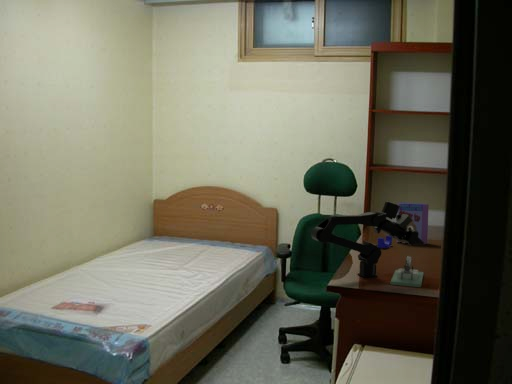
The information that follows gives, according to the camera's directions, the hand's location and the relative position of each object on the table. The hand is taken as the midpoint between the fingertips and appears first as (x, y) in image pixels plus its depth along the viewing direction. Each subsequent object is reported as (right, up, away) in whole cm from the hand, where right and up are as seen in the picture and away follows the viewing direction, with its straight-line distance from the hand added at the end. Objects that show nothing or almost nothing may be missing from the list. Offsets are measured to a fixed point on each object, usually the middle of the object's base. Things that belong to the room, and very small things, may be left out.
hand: (417, 241), depth 240 cm
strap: (-8, -9, -12) cm, 17 cm away
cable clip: (+2, -10, +68) cm, 69 cm away
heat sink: (-8, -14, -11) cm, 19 cm away
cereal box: (+21, -9, +83) cm, 86 cm away
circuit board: (-8, -15, -11) cm, 20 cm away
